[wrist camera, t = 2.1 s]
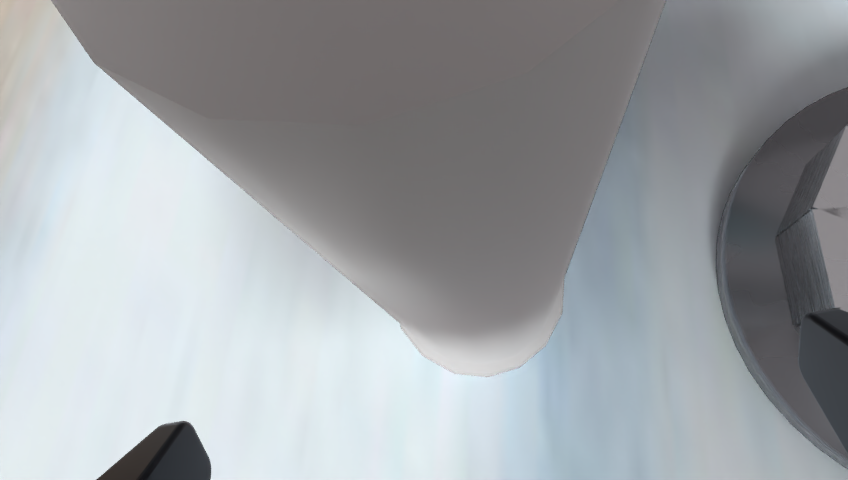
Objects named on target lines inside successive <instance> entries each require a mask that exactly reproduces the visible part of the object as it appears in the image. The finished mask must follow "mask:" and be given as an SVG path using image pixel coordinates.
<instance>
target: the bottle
mask: <svg viewBox="0 0 848 480" xmlns="http://www.w3.org/2000/svg"><path fill="white" fill-rule="evenodd" d="M51 1H52V2H53V4H54V5H55V7H56V8H57V10H58V11H59V13H60V14H61V16H62V17H63V18H64V20H65V21H66V23H67V24H68V26H69V27H70V29H71V30H72V32H73V33H74V34H75V36H76V37H77V39H78V40H79V42H80V43H81V45H82V46H83V48H84V49H85V51H86V52H87V53H88V55H89V56H90V58H91V59H92V61H93V62H94V63H95V64H96V65H97V66H98V67H99V68H101V69H102V70H103V71H104V72H105V73H107V74H108V75H109V76H110V77H111V78H112V79H114V80H115V81H116V82H117V83H118V84H119V85H121V86H122V87H123V88H124V89H125V90H126V91H128V92H129V93H130V94H131V95H132V96H134V97H135V98H136V99H137V100H138V101H139V102H141V103H142V104H143V105H144V106H145V107H146V108H148V109H149V110H150V111H151V112H152V113H153V114H155V115H156V116H157V117H158V118H159V119H161V120H162V121H163V122H164V123H165V124H166V125H168V126H169V127H170V128H171V129H172V130H173V131H175V132H176V133H177V134H178V135H179V136H180V137H182V138H183V139H184V140H185V141H186V142H188V143H189V144H190V145H191V146H192V147H193V148H195V149H196V150H197V151H198V152H199V153H200V154H202V155H203V156H204V157H205V158H206V159H207V160H209V161H210V162H211V163H212V164H213V165H215V166H216V167H217V168H218V169H219V170H220V171H222V172H223V173H224V174H225V175H226V176H227V177H229V178H230V179H231V180H232V181H233V182H234V183H236V184H237V185H238V186H239V187H240V188H242V189H243V190H244V191H245V192H246V193H247V194H249V195H250V196H251V197H252V198H253V199H254V200H256V201H257V202H258V203H259V204H260V205H261V206H263V207H264V208H265V209H266V210H267V211H269V212H270V213H271V214H272V215H273V216H274V217H276V218H277V219H278V220H279V221H280V222H281V223H283V224H284V225H285V226H286V227H287V228H288V229H290V230H291V231H292V232H293V233H294V234H296V235H297V236H298V237H299V238H300V239H301V240H303V241H304V242H305V243H306V244H307V245H308V246H310V247H311V248H312V249H313V250H314V251H315V252H317V253H318V254H319V255H320V256H321V257H323V258H324V259H325V260H326V261H327V262H328V263H330V264H331V265H332V266H333V267H334V268H335V269H337V270H338V271H339V272H340V273H341V274H342V275H344V276H345V277H346V278H347V279H348V280H350V281H351V282H352V283H353V284H354V285H355V286H357V287H358V288H359V289H360V290H361V291H362V292H364V293H365V294H366V295H367V296H368V297H369V298H371V299H372V300H373V301H374V302H375V303H377V304H378V305H379V306H380V307H381V308H382V309H384V310H385V311H386V312H387V313H388V314H389V315H391V316H392V317H393V318H394V319H395V320H396V321H398V322H399V323H400V326H401V329H402V330H403V332H404V333H405V334H406V335H407V337H408V338H409V339H410V341H411V342H412V343H413V344H414V346H415V347H416V348H417V350H418V351H419V352H420V353H421V355H422V356H424V357H425V358H427V359H429V360H431V361H433V362H434V363H436V364H438V365H440V366H441V367H443V368H445V369H447V370H449V371H450V372H452V373H454V374H462V375H471V376H480V377H490V376H494V375H497V374H501V373H504V372H507V371H511V370H514V369H517V368H520V367H521V366H522V365H524V364H525V363H526V362H527V361H528V360H530V359H531V358H532V357H533V356H534V355H536V354H537V353H538V352H539V351H540V350H542V349H543V348H544V347H545V346H546V344H547V342H548V340H549V338H550V336H551V334H552V332H553V330H554V328H555V326H556V324H557V323H558V321H559V319H560V317H561V315H562V310H563V292H564V277H565V274H566V272H567V269H568V266H569V264H570V261H571V258H572V255H573V253H574V250H575V247H576V245H577V242H578V239H579V236H580V234H581V231H582V228H583V226H584V223H585V220H586V217H587V215H588V212H589V209H590V206H591V204H592V201H593V198H594V196H595V193H596V190H597V187H598V185H599V182H600V179H601V177H602V174H603V171H604V168H605V166H606V163H607V160H608V158H609V155H610V152H611V149H612V147H613V144H614V141H615V138H616V136H617V133H618V130H619V128H620V125H621V122H622V119H623V117H624V114H625V111H626V109H627V106H628V103H629V100H630V98H631V95H632V92H633V90H634V87H635V84H636V81H637V79H638V76H639V73H640V70H641V68H642V65H643V62H644V60H645V57H646V54H647V51H648V49H649V46H650V43H651V41H652V38H653V35H654V32H655V30H656V27H657V24H658V22H659V19H660V16H661V13H662V11H663V8H664V5H665V2H666V0H51Z"/></svg>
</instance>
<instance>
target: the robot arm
mask: <svg viewBox="0 0 848 480" xmlns="http://www.w3.org/2000/svg"><path fill="white" fill-rule="evenodd" d="M798 364H799V369H800V372H801V374H802V377H803V378H804V380H805V382H806V384H807V385H808V387H809V389H810V391H811V392H812V394H813V396H814V398H815V399H816V401H817V403H818V404H819V406H820V408H821V410H822V411H823V413H824V415H825V416H826V418H827V420H828V422H829V423H830V425H831V427H832V429H833V430H834V432H835V434H836V435H837V437H838V439H839V441H840V442H841V444H842V446H843V447H844V449H845V451H846V453H847V454H848V312H847V311H844V310H841V309H837V308H830V309H825V310H819V311H813V312H808V313H806V314H805V315H804V316H803V318H802V320H801V326H800V340H799V353H798ZM210 478H211V463H210V460H209V457H208V455H207V453H206V451H205V449H204V447H203V445H202V443H201V441H200V439H199V437H198V435H197V433H196V431H195V429H194V428H193V426H192V425H191V424H190V423H189V422H186V421H180V422H174V423H168V424H164V425H161V426H159V427H158V428H156V429H155V430H154V431H153V432H152V433H151V434H149V435H148V436H147V437H146V438H145V439H144V440H142V441H141V442H140V443H139V444H138V445H137V446H135V447H134V448H133V449H132V450H131V451H129V452H128V453H127V454H126V455H125V456H124V457H122V458H121V459H120V460H119V461H118V462H117V463H115V464H114V465H113V466H112V467H111V468H110V469H108V470H107V471H106V472H105V473H104V474H103V475H101V476H100V477H99V478H98V479H97V480H210Z"/></svg>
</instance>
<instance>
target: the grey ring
mask: <svg viewBox="0 0 848 480" xmlns="http://www.w3.org/2000/svg"><path fill="white" fill-rule="evenodd" d="M716 270H717V280H718V290H719V295H720V299H721V303H722V307H723V312H724V316H725V319H726V322H727V325H728V327H729V330H730V332H731V335H732V337H733V340H734V343H735V345H736V347H737V349H738V351H739V353H740V355H741V357H742V358H743V360H744V362H745V364H746V366H747V368H748V370H749V371H750V373H751V375H752V376H753V377H754V379H755V380H756V382H757V383H758V384H759V386H760V387H761V389H762V390H763V392H764V393H765V394H766V396H767V397H768V399H769V400H770V401H771V402H772V403H773V404H774V405H775V407H776V408H777V409H778V410H779V411H780V412H781V413H782V414H783V416H784V417H785V418H786V419H787V420H788V421H789V422H790V423H791V424H792V425H793V426H794V427H795V428H796V429H797V430H798V431H799V432H800V433H802V434H803V435H804V436H805V437H806V438H807V439H808V440H809V441H811V442H812V443H813V444H814V445H815V446H816V447H817V448H819V449H820V450H821V451H823V452H824V453H826V454H827V455H828V456H830V457H831V458H833V459H834V460H835V461H837V462H838V463H839V464H841V465H842V466H844V467H845V468H847V469H848V454H847V453H846V451H845V449H844V447H843V446H842V444H841V442H840V441H839V439H838V437H837V435H836V434H835V432H834V430H833V429H832V427H831V425H830V423H829V422H828V420H827V418H826V416H825V415H824V413H823V411H822V410H821V408H820V406H819V404H818V403H817V401H816V399H815V398H814V396H813V394H812V392H811V391H810V389H809V387H808V385H807V384H806V382H805V380H804V378H803V377H802V374H801V372H800V369H799V364H798V353H799V340H800V326H801V320H802V318H803V316H804V315H805V314H806V313H808V312H813V311H819V310H825V309H830V308H837V309H841V310H844V311H847V312H848V88H845V89H842V90H840V91H837V92H835V93H832V94H830V95H828V96H826V97H824V98H822V99H820V100H819V101H817V102H815V103H813V104H811V105H809V106H807V107H806V108H804V109H803V110H802V111H800V112H799V113H798V114H796V115H795V116H793V117H792V118H791V119H789V120H788V121H787V122H785V123H784V124H783V125H782V126H781V127H780V128H779V129H778V130H777V131H776V132H775V133H774V134H773V135H772V136H771V137H770V138H769V139H768V140H767V141H766V142H765V144H764V145H763V146H762V147H761V148H760V150H759V151H758V152H757V153H756V155H755V156H754V157H753V158H752V160H751V161H750V162H749V164H748V165H747V166H746V168H745V169H744V170H743V171H742V173H741V175H740V177H739V178H738V180H737V182H736V184H735V186H734V187H733V189H732V191H731V193H730V195H729V198H728V201H727V204H726V206H725V209H724V212H723V215H722V219H721V224H720V229H719V234H718V239H717V257H716Z"/></svg>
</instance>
